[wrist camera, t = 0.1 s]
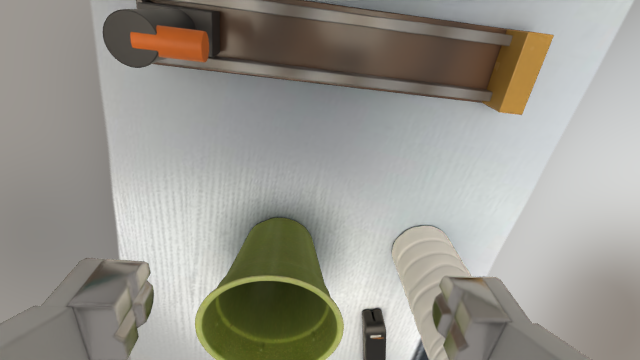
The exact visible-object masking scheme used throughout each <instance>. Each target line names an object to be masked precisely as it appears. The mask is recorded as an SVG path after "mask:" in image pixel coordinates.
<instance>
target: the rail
mask: <svg viewBox="0 0 640 360" xmlns="http://www.w3.org/2000/svg"><path fill="white" fill-rule="evenodd" d="M137 2H153V3H161V4H168V5H176V6H183V7H191V8H198V9H206V10H213V11H219V13H220V53H219V54H217V55H216V56H214V57H208V59H207V61H206V62H197V61H188V60H180V59H172V58H166V59H164V60H161V61H159V62H156V63H153V64H157V65H166V66H174V67H183V68H191V69H200V70H208V71H217V72H225V73H234V74H242V75H251V76H259V77H268V78H276V79H285V80H293V81H302V82H310V83H319V84H327V85H336V86H344V87H353V88H361V89H370V90H378V91H387V92H395V93H404V94H412V95H421V96H429V97H438V98H446V99H455V100H463V101H472V102H480V103H482V101H490V100H491V97H492V94H493V92H491V91H489V90H487V87H488V84H489V81H490V78H491V75H492V72H493V69H494V66H495V63H496V60H497V57H498V55H499V52H500V49H501V46H510V43H511V40H512V37H513V35H506V31H507V29H504V28H497V27H489V26H482V25H475V24H468V23H461V22H454V21H447V20H440V19H432V18H425V17H418V16H411V15H404V14H397V13H390V12H383V11H375V10H368V9H361V8H354V7H347V6H340V5H333V4H326V3H318V2H311V1H304V0H136V4H137ZM137 9H138V7H137Z"/></svg>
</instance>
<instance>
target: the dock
mask: <svg viewBox="0 0 640 360" xmlns="http://www.w3.org/2000/svg"><path fill="white" fill-rule="evenodd" d="M506 35H513V37H512V40H511V43H510V46H501V49H500V52H499V55H498V57H497V60H496V63H495V66H494V69H493V72H492V75H491V78H490V81H489V84H488V87H487V90H489V91H491V92H493V94H492V97H491V100H490V101H482V103H483V104H485V105H487V106H489V107H491V108H493V109H494V110H496V111H498V112H502V113H510V114H519V115H522V113H523V111H524V108H525V106H526V103H527V101H528V98H529V96H530V93H531V91H532V88H533V86H534V83H535V81H536V79H537V76H538V74H539V71H540V69H541V66H542V64H543V61H544V59H545V56H546V54H547V51H548V49H549V46H550V44H551V41H552V39H553V36H554V35H550V34H543V33H536V32H529V31H520V30H511V29H507V31H506Z"/></svg>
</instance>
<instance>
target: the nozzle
mask: <svg viewBox="0 0 640 360" xmlns="http://www.w3.org/2000/svg"><path fill="white" fill-rule="evenodd" d="M137 7H138V9H124V10H118V11H115V12H113V13H112V14H110V15H109V16H108V17H107V19H106V21H105V23H104V26H103V38H104V42H105V44H106V47H107V48H108V50H109V52H110V53H111V54H112V55H113V56H114V57H115V58H116V59H117V60H118V61H120V62H121V63H123V64H125V65H127V66H130V67H135V68H141V67H146V66H148V65H151V64H153V63H156V62H159V61H161V60H164V59H166V58H172V59H180V60H188V61H197V62H206V61H207V59H208V57H214V56H216V55H217V54H219V53H220V13H219V11H213V10H206V9H198V8H191V7H183V6H176V5H168V4H161V3H153V2H137Z"/></svg>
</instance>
